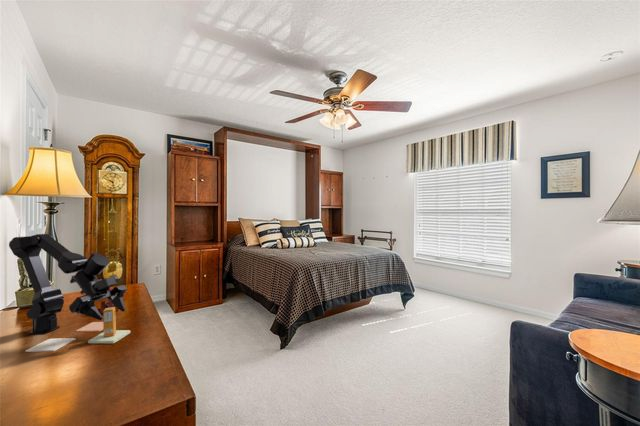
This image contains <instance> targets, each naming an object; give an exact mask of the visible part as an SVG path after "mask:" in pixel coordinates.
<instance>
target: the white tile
mask: <svg viewBox="0 0 640 426" xmlns="http://www.w3.org/2000/svg"><path fill="white" fill-rule="evenodd" d="M75 340H76V338H75V337H69V338H68V337H66V338H65V337H64V338H60V337H59V338H48V339H46V340H44V341H42V342H40V343H38V344H37V345H34V346H31V347H30V348H27V349H26V350H25V352H26V353H27V352H29V353H32V352H33V353H34V352H38V353H39V352H55V351H57V350H59V349H61V348H62V347H65V346H66V345H68V344H69V343H72V342H74V341H75Z"/></svg>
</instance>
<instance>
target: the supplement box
mask: <svg viewBox="0 0 640 426" xmlns="http://www.w3.org/2000/svg"><path fill="white" fill-rule="evenodd" d="M116 316H117V315H116V311H115V307H111V308H105V309H104V311H103V313H102V318H103V319H102V320H103V321H102V322H103V327H104V329H103V332H104V337H110V336H114V335H115V333H116V330H117V324H116V323H117V317H116Z"/></svg>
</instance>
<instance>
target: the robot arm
mask: <svg viewBox="0 0 640 426" xmlns="http://www.w3.org/2000/svg"><path fill="white" fill-rule="evenodd" d="M8 246H9V247H8V248H9V250H11V252H12V254H13V256H15V257H17V258H19V259H20V260H21V261H22V263H23V266H24V268H25V271H26V274H27V277H28V279H29V281H30V282H29V283H31V286H32V290H33V292H34V295H33V297H32V300H31V303H32V306H31V307H30V308H29V310H27V312H26V318H27V319H32V330H31V331H29V332H28V335H30V334H31V335H32V334H33V335H45V334H48V333H51V332H52V331H55V330H57V329H59V328H60V327H61V326H60V325H58V317H57V313H61V312H62V309H63V306H64V303H65V300H64V299H65V296H64V295H63V292H62V290H61V289H60V288H58V289H56V288H54V287H52V284H51V282H50V279H49V276H48V274H47V271H46V269H45V266H44V264H43V261H42V259H41V256H40V254H41V251H42V250H43V251H44V252H45V253H47V254H48V255H49V256H50V257H52V258H53V259H54V260H56V261H57V267H58V268H59V269H60V270H61V271H62V272H63V273H64V274H66V275H68V274H73V273H75V274H74V275H71V279H70V280H69V283H70V284H74V283H76V284H77V285H78V287H79V288H80V290H81V291H80V294H81V295H80V296H77V297H76V298H75V299H74V300H73V301H72V302H71V304H70V305H69V306H68V309H69V311H70V312H71V314H75V313H76V314H81V315H85V316H88V317H90V318H93V319H96V320H98V321H102V320H103V315H102V313H101V312H100V311H99V310H98V308H97V307H96V304H95V302H99V301H102V300H105V299H107V298H109V300H112V301H111V303H112V304H114V305H115V306H116V307H117V308H118V309H119V311H121V312H125V311H126V307H125V303H124V295H125V293H126V291H128V287H126V286H125V285H124V284H120V285H118V283H119V282H120V278H119V276H118V275H116V274H111V275H109V276H108V277H105V278H103V279H101V278H100V279H98V277H97V276H98V275H100V274H101V273H102V272H103V271H104V270H105V269H106V268H107V266H109V264H110V259H109V258H108V257H107V256H104V255H103V254H100V253H98V252H94V253H93V252H92V253H91V254H90V256H89V257H88V258H87V257H86V256H84V255H82V254H80V253H76V252H73V251H70V250H69V249H68V248H66V247H65V246H64V245H63V244H61V243H60V242H59V241H57V240H56V239H55V238H53V236H52V234H49V233H38V234H37V233H36V234H34V235H29V236H15V237H13V238H12V239H11V240H10V241H9V243H8ZM114 285H117V286H114ZM113 286H114V287H113ZM110 287H112V290H111V291H110V292H108V290H110Z"/></svg>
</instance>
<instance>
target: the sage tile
mask: <svg viewBox="0 0 640 426" xmlns="http://www.w3.org/2000/svg"><path fill="white" fill-rule="evenodd" d="M129 334H131V330H129V329H127V330H126V329H123V330H121V329H120V330H119V329H116V333H115V335H114V336H110V337H104V331H103V332H101V333H99V334H98V335H95V336H94V337H92V338H90V339H88V341H87V343H88V344H116V342H118V341H120V340H122V339H123V338H125V337H126V336H129Z"/></svg>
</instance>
